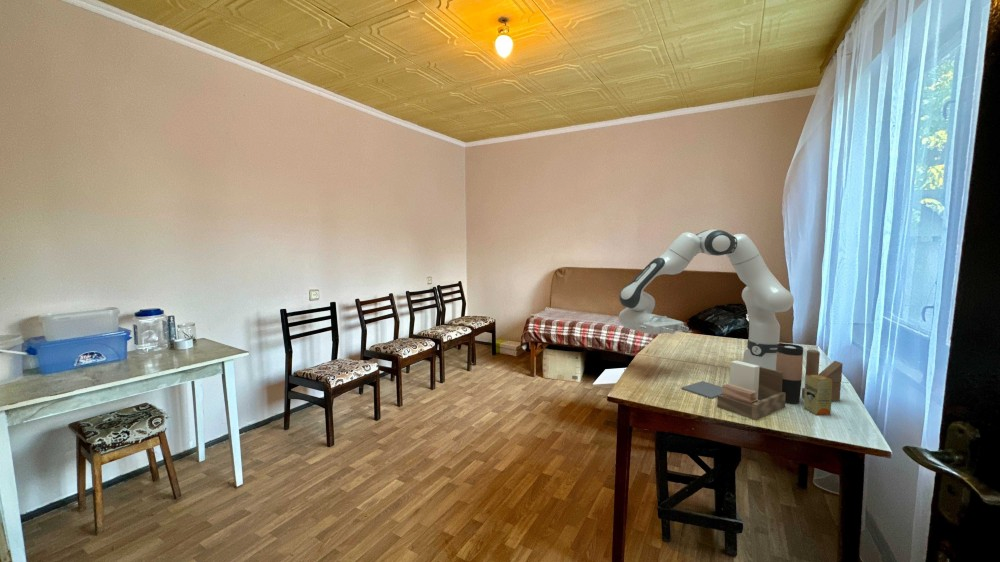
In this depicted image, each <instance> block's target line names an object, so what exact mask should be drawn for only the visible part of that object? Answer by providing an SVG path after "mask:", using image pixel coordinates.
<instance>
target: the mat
mask: <svg viewBox="0 0 1000 562" xmlns="http://www.w3.org/2000/svg"><path fill="white" fill-rule="evenodd" d="M681 390H683V391H686V392H690V393H692V394H696V395H698V396H701V397H704V396H705V397H704V398H707V397H708V398H707V399H710V398H713V399H714V397H715V398H717V396H718V395H722V396H723V393H722V386H720V385H717V384H714V383H711V382H707V381H703V380H702V381H699V382H695V383H691V384H689V385H685V386H681Z"/></svg>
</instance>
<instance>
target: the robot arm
mask: <svg viewBox="0 0 1000 562" xmlns="http://www.w3.org/2000/svg"><path fill="white" fill-rule="evenodd" d="M701 253H702V254H705V255H708V256H719V257H720V256H724V255H726V257H727V258H728V259H729V261H730V264H731V265H732V267H733V269H734V271H735V272H736V275H737V276H738V278H739V280H740V282H743V284H744V285H745V287H744V288H743V289H742V292H741V299H742V300H743V303H744V304H745V306H746V310H747V311H746V312H747V316H748V324H749V325H748V330H749V331H748V339H747V342H746V348H747V349H745V350H744V351H743V357H742V362H745V363H749V364H754V365H758V366H760V367H763V368H767V369H772V370H776V359H777V345H778V344H784V342H782V341H781V342H780V335H781V334H780V333H781V325H780V323H779V321H778V319H777V316H776V313H784V312H787V311H789V310H790V309H791V308H792V307H793V305H794V303H795V302H794V301H795V299H794V296H793V294H792V292H790V291H789V290H788V289H786V288H785V287H784V286H783V285H782V283H780V281H779V280H778V279H777V278H776V276H775V275H774V274H773V273H772V272H771V271H770V269H769V267H768V266H767V264H766V262H765V260H764V258H763V257H762V255H761V254H760V251H759V249H758V248H757V246H756V245H755V243H754V241H752V239H751V238H750V237H749V236H748V235H747V234H745V233H736V234H733V235H732V234H731V233H729V232H728V231H725V230H723V229H722V230H721V229H715V228H714V229H707V230H703V231H701V232H699V233H697V234H695V233H692V232H689V231H688V232H687V231H686V232H682V233H681V234H680V235H678V236H677V238H676V239H675V240H674V241H673V242H672V243H671V244H670V245H669V246H668V247H667V249H666V250H665V251H664V253H662V255H660V256H658V257H656V258H654V259H653V260H651V261H650V262H649V263H647V265H646V266H645V267H644V268H643V269H642V270H641V271H640V273H638V274H637V275H636V276H635V277H634V278H633V280H632V281H631V282H629V283H628V284H626V285H625V286H624V287H623V288H622V289H621V290H620V292H619V302H620V304H621V306H623V307H625V308H624V309H622V310H621V311H620V312H619V314H618V320H619V323H620V325H622V326H623V327H624V328H626V329H630V330H632V331H637V332H638V331H640V332H641V333H644V334H649V335H652V336H653V335H654V336H655V335H660V334H661V335H662V334H669V335H670V334H672V335H673V334H676V332H680V331H682V332H685V333H686V332H689V329H690V328H689V327H688V326H685V323H684V322H683V321H682V320H677V319H675V318H670V317H668V316H667V315H660V314H655V313H653V312H654V310H655V307H656V305H657V304H656V299H655V297H654V296H653V295H651V294H649V293H648V292H646V291H644V290H645V289H646V288H647V287H648V286H649V285H650V284H651V282H652V281H653V280H654V279H655V278H656V277H658V276H661V275H678V274H680V273H682V272H683V271H684V270H685V269H686V268H687V267H688V266H689V264H690V263H691V261H693V259H694V257H696V256H697V255H698V254H701Z"/></svg>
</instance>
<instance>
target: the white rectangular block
mask: <svg viewBox="0 0 1000 562" xmlns="http://www.w3.org/2000/svg"><path fill="white" fill-rule="evenodd" d="M759 369H760V366H758V365H754V364H749V363H745V362H743V361H741V360H732V361H730V371H729V373H730V374H729V384H731V385H735V386H738V387H741V388H745V389H748V390H752V391H755V392H756V399H757V400H758V388H759ZM758 401H759V400H758Z"/></svg>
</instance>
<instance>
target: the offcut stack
mask: <svg viewBox="0 0 1000 562" xmlns="http://www.w3.org/2000/svg"><path fill="white" fill-rule="evenodd" d="M721 387H722V393H723V395H722V396H725V397H728V398H731V399H734V400H737V401H740V402H743V403H747V404H750V405H752V404H753V403H755V402H758V401H759V400H757V399H756V392H755V391H752V390H748V389H745V388H741V387H738V386H735V385H731V384H730V383H727V384H724V385H722V386H721Z"/></svg>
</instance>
